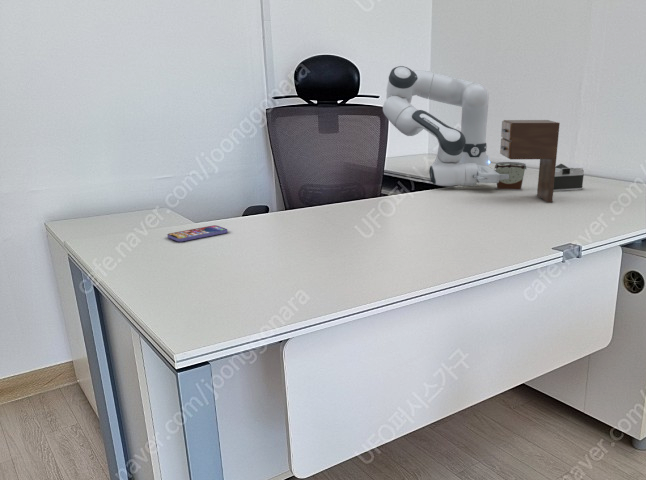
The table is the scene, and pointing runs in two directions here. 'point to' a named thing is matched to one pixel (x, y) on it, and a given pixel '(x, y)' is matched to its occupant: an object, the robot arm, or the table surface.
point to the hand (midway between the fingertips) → (506, 174)
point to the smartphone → (197, 233)
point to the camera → (568, 178)
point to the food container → (510, 175)
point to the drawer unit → (533, 148)
